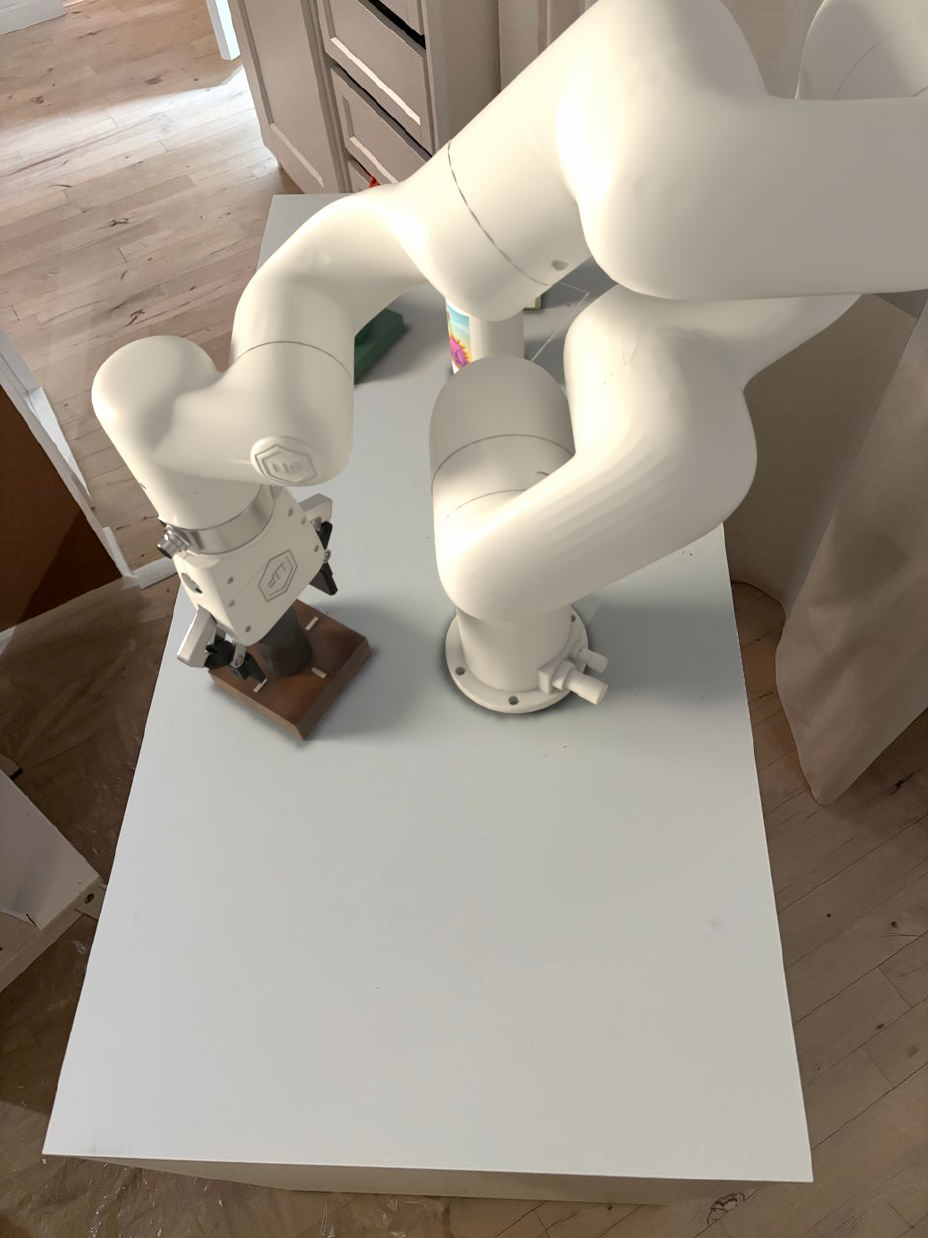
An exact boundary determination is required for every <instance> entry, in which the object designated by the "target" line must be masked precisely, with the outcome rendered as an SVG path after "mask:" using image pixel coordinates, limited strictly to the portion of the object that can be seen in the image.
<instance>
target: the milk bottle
mask: <svg viewBox="0 0 928 1238" xmlns="http://www.w3.org/2000/svg"><path fill="white" fill-rule="evenodd" d="M444 299H445V309H446V310H445V311H446V319H447V329H448V338H449V345H450V346H449V347H450V355H451V362H452V369H453V374H455V373H456V372H457V371H458V370H459V369H461V368H462V367H464V366H465V365H467V364H469V363H471V362H473V361H475V360H478V359H481V358H484V357H489V356H494V355H509V356H516V357H520V358H524V359H525V337H524V334H525V333H524V332H525V331H524V330H525V329H524V309H522V310H521V311H520V312H518V313H517V314H516V315H514V316H512V317H510V318H508V319H505V320H500V321H486V320H481V319H478V318H475V317H473V316H471V315H470V314H468V313H466V312H464V311H462V310H461V309H459V308H458V307H456V306H455V305H454V304H452V303H451V302H450V301H449V300H448V299H446V298H445V297H444Z"/></svg>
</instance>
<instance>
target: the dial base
mask: <svg viewBox="0 0 928 1238" xmlns="http://www.w3.org/2000/svg"><path fill="white" fill-rule="evenodd" d="M292 606H293V607H294V608H295V610H296V612H297V614H298V617H299V619H300V621H301V623H302V626H303V628H304V630H305V633H306V635H307V637H308V640H309V642H310V644H311V648H312V654H311V658H310V660H309V662H308V663H307V665H306V666H305V667H304V668H303V669H302V670H300V671H299V672H297V673H295V674H292V675H288V676H279V675H275V674H272V673H271V672H269V671H268V670H267V669H266V668H265V666H264V665H263V663H262V661H261V659H260V657H259V655H258V653H257V652H256V650H255V648H254V646H253V644H252V645H249V646H247V648H246V652H248V653H250V654H251V655H252V656H253V657H254V658H255V660H256V662H257V663H258V665H259V666H260V668H261V669H262V671H263V673H264V674H265V676H266V677H265V680H264V682H263V683H262V684H260V683H258V682H256V681H254V680H253V679H251V678H249V677H248V678H247V679H246V680H245V681H243V680H241V679H239V678H237V677H236V676H235V675H233V674H232V673H231V672H230V670H229V669H228V668H227V666H225V667H221V668H218V669H214V670H210V669H207V673H208V675H209V676H210V678H211V679H212V681H213V682H214V684H215V685H216V687H217V688H218V689H220V690H221V691H223V692H225V693H226V694H228V695H230V696H231V697H232V698H234V699H236V700H237V701H239V702H240V703H242V704H243V705H245V706H247V707H249V708H250V709H252V710H254V711H255V712H257V713H258V714H260V715H262V716H263V717H264V718H266V719H268V720H269V721H271V722H273V723H274V724H276V725H278V726H279V727H281V728H283V729H284V730H286V731H287V732H288V733H290V734H292V735H293V736H295V737H297V738H298V739H300V741H304V740H305V739H306V738H307V737H308V735H309V734H311V732H312V731H313V729H314V728H315V727H316V725H317V724H318V723H319V721H321V720H322V718H323V717H324V715H325V714H326V713H327V711H328V710H329V709H330V708H331V707H332V705H333V704H334V703H335V701H336V700H337V699H338V697H339V696H340V695H341V694H342V693H343V692H344V690H345V689H346V688H347V686H348V685H349V684H350V682H351V681H352V680H353V679H354V678H355V676H356V675H357V674H358V673H359V671H360V670H361V669H362V667H363V666H364V665H365V664H366V662H367V661H368V660H369V659H370V657H371V656H372V650H371V648H370V644H369V642H368V639H367V636H364V635H362V634H361V633H359V632H357V631H356V630H354V629H352V628H350V627H348V626H347V625H345V624H343V623H341V622H340V621H337V620H336V619H334V618H332V617H330V616H329V615H327V614H325V613H323V612H321V611H319V610H318V609H316V608H315V607H313V606H311V605H310V604H307V603H305V602H304V601H302V600H300V599H298V598H297V599H296V600H295V601H294V602H293V604H292Z"/></svg>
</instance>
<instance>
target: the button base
mask: <svg viewBox="0 0 928 1238" xmlns="http://www.w3.org/2000/svg"><path fill="white" fill-rule="evenodd" d="M404 331H406V327H405V322H404V315H403V314H402V313H399V312H397V311H394V310H392V309H389V308H388V307H385V308H384V309H383V310H382V311H381V312H380V313H378V314H377V315H376V316H375V317H374V318H373V319H372V320H370V321H369V322H368V323H367V324H366V325H365V326H364V327H363V328H362V329H361V330H360V331H359V332H358V333H357V334H356V336H355V337H354V384H355V383H356V382H357V381H358V380H359V379H360V378H361V377H362V376H363V375H364V374H365V373H366V372H367V371H368V370H369V369H370V368H371V366H373V364H374V363H376V361H377V360H378V359H379V358H380V357H381V356H382V355H383V354H384V353H385V352H386V351H387V350H388V348H389V347H390V346H391V345H392V344H393V343H394V342H395V341H396V340H397V339H398V338H399V337H400V336H401V335H402V334H403V333H404Z"/></svg>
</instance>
